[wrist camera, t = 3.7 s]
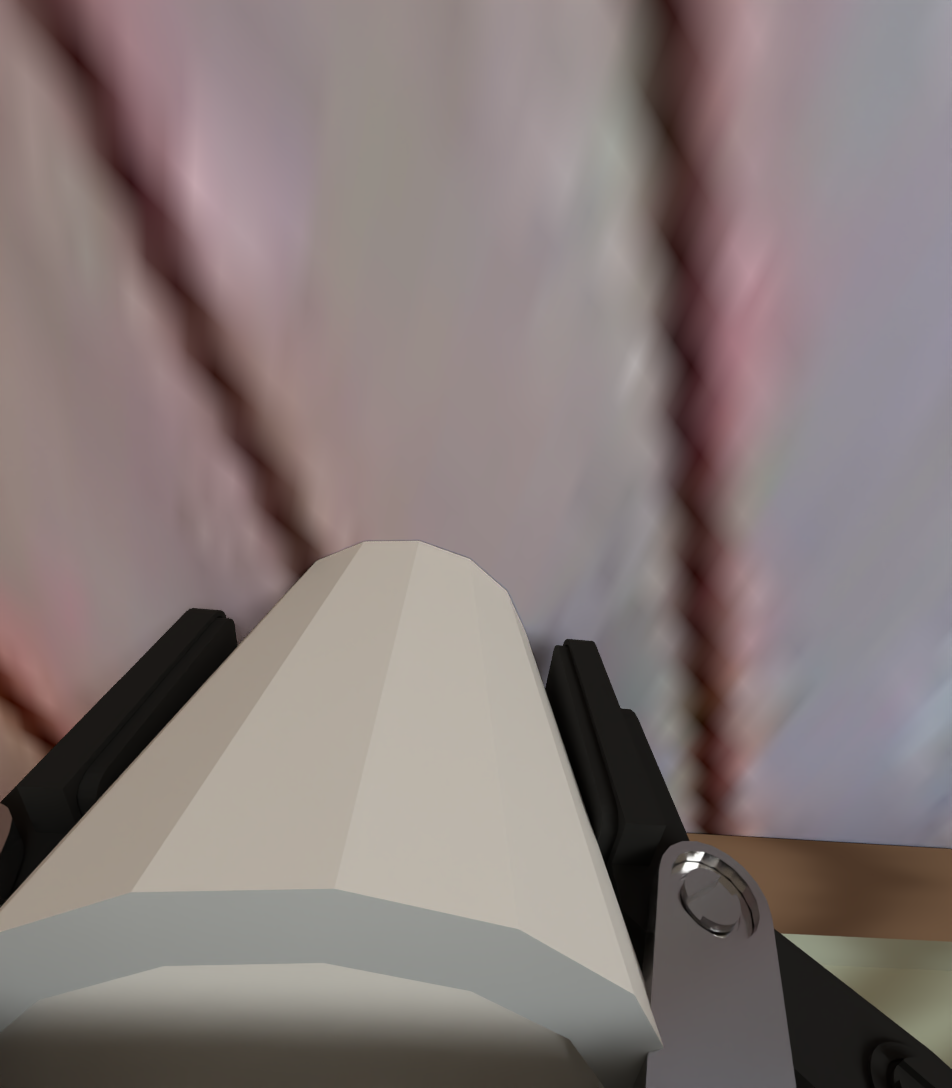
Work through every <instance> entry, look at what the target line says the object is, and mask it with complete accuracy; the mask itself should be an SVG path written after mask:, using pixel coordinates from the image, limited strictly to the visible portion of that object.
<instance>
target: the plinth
mask: <svg viewBox="0 0 952 1088" xmlns="http://www.w3.org/2000/svg"><path fill="white" fill-rule="evenodd" d="M687 836H688V838H689V840H690V841H697V842H701V843H704V844H708V845H711V846H714V847H715V848H717V849H719V850H721V851H723V852H725V853H726V854H728V855H729V856H731V857H732V858H733V859H734V860H736V861H737V862H738V863H739V864H740V865H742V866H743V867H744V868H745V869H746V870H747V872H748V873H749V874H750V875H751V876H752V878H753V879H754V880H755V881H756V882H757V884H758V885H759V887H760V889H761V891H762V892H763V894H764V896H765V898H766V899H767V902H768V905H769V909H770V912H771V916H772V920H773V927H774V929H776V930H777V931H778V932H779V933H781V934H782V935H783V936H785V937H786V938H787V939H788V940H790V941H791V942H792V943H794V944H795V945H796V946H797V947H799V948H800V949H801V950H803V951H804V952H805V953H806V954H808V955H809V956H810V957H812V958H813V959H814V960H815V961H817V962H818V963H819V964H821V965H822V966H823V967H824V968H826V969H827V970H828V971H830V972H831V973H832V974H833V975H835V976H836V977H837V978H839V979H840V980H841V981H842V982H844V983H845V984H846V985H848V986H849V987H850V988H851V989H853V990H854V991H855V992H857V993H858V994H859V995H860V996H862V997H863V998H864V999H866V1000H867V1001H868V1002H869V1003H871V1004H872V1005H873V1006H875V1007H876V1008H877V1009H878V1010H880V1011H881V1012H882V1013H884V1014H885V1015H886V1016H887V1017H889V1018H890V1019H891V1020H893V1021H894V1022H895V1023H896V1024H898V1025H899V1026H900V1027H902V1028H903V1029H904V1030H905V1031H907V1032H908V1033H909V1034H911V1035H912V1036H913V1037H914V1038H916V1039H917V1040H918V1041H920V1042H921V1043H922V1044H923V1045H925V1046H926V1047H927V1048H929V1049H930V1050H931V1051H932V1052H933V1053H935V1054H936V1055H937V1056H938V1057H939V1058H940V1059H941V1060H942V1061H943V1062H944V1063H946V1064H947V1065H948V1066H949V1067H950V1068H951V1069H952V849H941V848H925V847H908V846H891V845H875V844H858V843H841V842H824V841H808V840H791V839H774V838H758V837H741V836H724V835H707V834H691V833H687Z"/></svg>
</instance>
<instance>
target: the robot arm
mask: <svg viewBox="0 0 952 1088" xmlns="http://www.w3.org/2000/svg"><path fill="white" fill-rule="evenodd" d="M236 648H237V640H236V632H235V624H234V621H233V620H232V619H229V618H226V615H225V613H224V612H223V611H221V610H209V609H197V608H192V609H189V610H188V611H186V612H185V613H184V614H183V615H182V616H181V617H180V619H179V620H178V621H177V622H176V623H175V624H174V625H173V626H172V627H171V628H170V629H169V630H168V631H167V632H166V633H165V634H164V635H163V636H162V637H161V638H160V639H159V640H158V641H157V642H156V643H155V644H154V645H153V646H152V647H151V648H150V649H149V650H148V651H147V652H146V653H145V655H144V656H143V657H142V658H141V659H140V660H139V661H138V662H137V663H136V664H135V665H134V666H133V667H132V668H131V669H130V670H129V671H128V672H127V673H126V674H125V675H124V676H123V677H122V678H121V679H120V680H119V681H118V682H117V683H116V684H115V685H114V686H113V687H112V688H111V689H110V690H109V691H108V692H107V693H106V694H105V695H104V696H103V697H102V698H101V699H100V700H99V701H98V702H97V703H96V705H95V706H94V707H93V708H92V709H91V710H90V711H89V712H88V713H87V714H86V715H85V716H84V717H83V718H82V719H81V720H80V721H79V722H78V723H77V724H76V725H75V726H74V727H73V728H72V729H71V730H70V731H69V732H68V733H67V734H66V735H65V736H64V737H63V738H62V739H61V740H60V742H59V743H58V744H57V745H56V746H55V747H54V748H53V749H52V750H51V751H50V752H49V753H48V754H47V755H46V756H45V757H44V758H43V759H42V760H41V761H40V762H39V763H38V764H37V765H36V766H35V767H34V768H33V769H32V770H31V771H30V772H29V773H28V774H27V775H26V776H25V777H24V779H23V780H22V781H21V782H20V783H19V784H18V785H17V786H16V787H15V788H14V789H13V790H12V791H11V792H10V793H9V794H8V795H7V796H6V797H5V798H4V799H3V800H2V801H1V802H0V907H1V906H2V905H3V904H4V903H5V902H6V901H7V900H8V899H9V897H10V896H11V895H12V894H13V893H14V892H15V891H16V890H17V889H18V888H19V886H20V885H21V884H22V883H23V882H24V881H25V880H26V879H27V878H28V877H29V875H30V874H31V873H32V872H33V871H34V870H35V869H36V868H37V867H38V866H39V864H40V863H41V862H42V861H43V860H44V859H45V858H46V857H47V856H48V855H49V853H50V852H51V851H52V850H53V849H54V848H55V847H56V846H57V845H58V844H59V842H60V841H61V840H62V839H63V838H64V837H65V836H66V835H67V834H68V833H69V831H70V830H71V829H72V828H73V827H74V826H75V825H76V824H77V823H78V822H79V820H80V819H81V818H82V817H83V816H84V815H85V814H86V813H87V812H88V811H89V809H90V808H91V807H92V806H93V805H94V804H95V803H96V802H97V801H98V800H99V798H100V797H101V796H102V795H103V794H104V793H105V792H106V791H107V790H108V789H109V787H110V786H111V785H112V784H113V783H114V782H115V781H116V780H117V779H118V778H119V776H120V775H121V774H122V773H123V772H124V771H125V770H126V769H127V768H128V767H129V765H130V764H131V763H132V762H133V761H134V760H135V759H136V758H137V757H138V756H139V754H140V753H141V752H142V751H143V750H144V749H145V748H146V747H147V746H148V745H149V743H150V742H151V741H152V740H153V739H154V738H155V737H156V736H157V735H158V734H159V732H160V731H161V730H162V729H163V728H164V727H165V726H166V725H167V724H168V723H169V721H170V720H171V719H172V718H173V717H174V716H175V715H176V714H177V713H178V712H179V710H180V709H181V708H182V707H183V706H184V705H185V704H186V703H187V702H188V701H189V699H190V698H191V697H192V696H193V695H194V694H195V693H196V692H197V691H198V690H199V688H200V687H201V686H202V685H203V684H204V683H205V682H206V681H207V680H208V679H209V677H210V676H211V675H212V674H213V673H214V672H215V671H216V670H217V669H218V668H219V666H220V665H221V664H222V663H223V662H224V661H225V660H226V659H227V658H228V657H229V655H230V654H231V653H232V652H233V651H234V650H235V649H236ZM545 691H546V694H547V697H548V700H549V702H550V705H551V708H552V711H553V714H554V717H555V720H556V723H557V726H558V729H559V732H560V735H561V738H562V741H563V743H564V746H565V749H566V752H567V755H568V758H569V761H570V764H571V767H572V770H573V773H574V776H575V779H576V782H577V784H578V787H579V790H580V793H581V796H582V799H583V802H584V805H585V808H586V811H587V814H588V817H589V820H590V823H591V825H592V828H593V831H594V834H595V837H596V840H597V843H598V846H599V849H600V852H601V855H602V858H603V861H604V864H605V866H606V869H607V872H608V875H609V878H610V881H611V884H612V887H613V890H614V893H615V896H616V899H617V902H618V905H619V907H620V910H621V913H622V916H623V919H624V922H625V925H626V928H627V931H628V934H629V937H630V940H631V943H632V946H633V948H634V951H635V954H636V957H637V960H638V963H639V966H640V969H641V972H642V975H643V978H644V981H645V984H646V989H647V994H648V998H649V1003H650V1008H651V1011H652V1014H653V1017H654V1020H655V1023H656V1026H657V1029H658V1032H659V1035H660V1038H661V1040H662V1043H663V1046H664V1048H661V1049H658V1050H654V1051H650V1052H648V1053H647V1055H646V1058H645V1060H644V1062H643V1064H642V1067H641V1069H640V1071H639V1074H638V1076H637V1078H636V1081H635V1082H634V1084H633V1088H952V1069H951V1068H950V1067H949V1066H948V1065H947V1064H946V1063H944V1062H943V1061H942V1060H941V1059H940V1058H939V1057H938V1056H937V1055H936V1054H935V1053H933V1052H932V1051H931V1050H930V1049H929V1048H927V1047H926V1046H925V1045H923V1044H922V1043H921V1042H920V1041H918V1040H917V1039H916V1038H914V1037H913V1036H912V1035H911V1034H909V1033H908V1032H907V1031H905V1030H904V1029H903V1028H902V1027H900V1026H899V1025H898V1024H896V1023H895V1022H894V1021H893V1020H891V1019H890V1018H889V1017H887V1016H886V1015H885V1014H884V1013H882V1012H881V1011H880V1010H878V1009H877V1008H876V1007H875V1006H873V1005H872V1004H871V1003H869V1002H868V1001H867V1000H866V999H864V998H863V997H862V996H860V995H859V994H858V993H857V992H855V991H854V990H853V989H851V988H850V987H849V986H848V985H846V984H845V983H844V982H842V981H841V980H840V979H839V978H837V977H836V976H835V975H833V974H832V973H831V972H830V971H828V970H827V969H826V968H824V967H823V966H822V965H821V964H819V963H818V962H817V961H815V960H814V959H813V958H812V957H810V956H809V955H808V954H806V953H805V952H804V951H803V950H801V949H800V948H799V947H797V946H796V945H795V944H794V943H792V942H791V941H790V940H788V939H787V938H786V937H785V936H783V935H782V934H781V933H779V932H778V931H777V930H776V929H774V927H773V920H772V916H771V912H770V909H769V905H768V902H767V899H766V898H765V896H764V894H763V892H762V891H761V889H760V887H759V885H758V884H757V882H756V881H755V880H754V879H753V878H752V876H751V875H750V874H749V873H748V872H747V870H746V869H745V868H744V867H743V866H742V865H740V864H739V863H738V862H737V861H736V860H734V859H733V858H732V857H731V856H729V855H728V854H726V853H725V852H723V851H721V850H719V849H717V848H715V847H714V846H711V845H708V844H704V843H701V842H697V841H690V840H689V838H688V836H687V833H686V831H685V829H684V826H683V824H682V822H681V819H680V817H679V814H678V812H677V810H676V807H675V805H674V803H673V800H672V798H671V796H670V793H669V791H668V788H667V786H666V784H665V781H664V779H663V777H662V774H661V772H660V770H659V767H658V765H657V763H656V760H655V758H654V755H653V753H652V751H651V748H650V746H649V744H648V741H647V739H646V737H645V734H644V732H643V729H642V727H641V725H640V722H639V720H638V718H637V716H636V714H635V713H634V712H633V711H632V710H631V709H621V708H620V706H619V703H618V701H617V698H616V696H615V693H614V690H613V688H612V685H611V683H610V680H609V678H608V675H607V672H606V670H605V667H604V665H603V662H602V660H601V657H600V655H599V652H598V649H597V647H596V645H595V643H594V642H593V641H585V640H573V639H566V640H565V642H564V644H563V646H560V645H556V646H555V648H554V651H553V656H552V660H551V665H550V670H549V674H548V679H547V683H546V688H545Z"/></svg>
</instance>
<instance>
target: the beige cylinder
mask: <svg viewBox="0 0 952 1088" xmlns="http://www.w3.org/2000/svg"><path fill="white" fill-rule="evenodd" d="M661 1048H664V1046H663V1043H662V1040H661V1038H660V1035H659V1032H658V1029H657V1026H656V1023H655V1020H654V1017H653V1014H652V1011H651V1008H650V1003H649V998H648V994H647V989H646V984H645V981H644V978H643V975H642V972H641V969H640V966H639V963H638V960H637V957H636V954H635V951H634V948H633V946H632V943H631V940H630V937H629V934H628V931H627V928H626V925H625V922H624V919H623V916H622V913H621V910H620V907H619V905H618V902H617V899H616V896H615V893H614V890H613V887H612V884H611V881H610V878H609V875H608V872H607V869H606V866H605V864H604V861H603V858H602V855H601V852H600V849H599V846H598V843H597V840H596V837H595V834H594V831H593V828H592V825H591V823H590V820H589V817H588V814H587V811H586V808H585V805H584V802H583V799H582V796H581V793H580V790H579V787H578V784H577V782H576V779H575V776H574V773H573V770H572V767H571V764H570V761H569V758H568V755H567V752H566V749H565V746H564V743H563V741H562V738H561V735H560V732H559V729H558V726H557V723H556V720H555V717H554V714H553V711H552V708H551V705H550V702H549V700H548V697H547V694H546V691H545V688H544V685H543V682H542V679H541V676H540V673H539V670H538V667H537V664H536V661H535V659H534V656H533V653H532V650H531V647H530V644H529V641H528V638H527V635H526V632H525V630H524V628H523V625H522V623H521V621H520V619H519V617H518V614H517V612H516V610H515V608H514V606H513V603H512V601H511V599H510V597H509V595H508V593H507V591H506V590H505V589H504V588H503V587H501V586H500V585H499V584H498V583H497V582H496V581H495V580H493V579H492V578H491V577H490V576H489V575H488V574H486V573H485V572H484V571H483V570H482V569H481V568H480V567H478V566H477V565H476V564H475V563H474V562H473V561H472V560H470V559H468V558H466V557H463V556H460V555H457V554H454V553H452V552H449V551H446V550H443V549H440V548H438V547H435V546H432V545H429V544H426V543H423V542H421V541H370V542H362V543H360V544H357V545H355V546H352V547H350V548H347V549H345V550H342V551H340V552H337V553H335V554H332V555H330V556H327V557H325V558H323V559H320V560H318V561H316V562H315V563H314V564H313V565H312V566H311V567H310V568H309V570H308V571H307V572H306V573H305V574H304V575H303V576H302V577H301V578H300V579H299V580H298V581H297V582H296V583H295V584H294V585H293V586H292V587H291V589H290V590H289V591H288V592H287V593H286V594H285V595H284V596H283V597H282V598H281V599H280V600H279V602H278V603H277V604H276V605H275V606H274V607H273V608H272V609H271V610H270V611H269V613H268V614H267V615H266V616H265V617H264V618H263V619H262V620H261V621H260V622H259V624H258V625H257V626H256V627H255V628H254V629H253V630H252V631H251V632H250V633H249V635H248V636H247V637H246V638H245V639H244V640H243V641H242V642H241V643H240V644H239V646H238V647H237V648H236V649H235V650H234V651H233V652H232V653H231V654H230V655H229V657H228V658H227V659H226V660H225V661H224V662H223V663H222V664H221V665H220V666H219V668H218V669H217V670H216V671H215V672H214V673H213V674H212V675H211V676H210V677H209V679H208V680H207V681H206V682H205V683H204V684H203V685H202V686H201V687H200V688H199V690H198V691H197V692H196V693H195V694H194V695H193V696H192V697H191V698H190V699H189V701H188V702H187V703H186V704H185V705H184V706H183V707H182V708H181V709H180V710H179V712H178V713H177V714H176V715H175V716H174V717H173V718H172V719H171V720H170V721H169V723H168V724H167V725H166V726H165V727H164V728H163V729H162V730H161V731H160V732H159V734H158V735H157V736H156V737H155V738H154V739H153V740H152V741H151V742H150V743H149V745H148V746H147V747H146V748H145V749H144V750H143V751H142V752H141V753H140V754H139V756H138V757H137V758H136V759H135V760H134V761H133V762H132V763H131V764H130V765H129V767H128V768H127V769H126V770H125V771H124V772H123V773H122V774H121V775H120V776H119V778H118V779H117V780H116V781H115V782H114V783H113V784H112V785H111V786H110V787H109V789H108V790H107V791H106V792H105V793H104V794H103V795H102V796H101V797H100V798H99V800H98V801H97V802H96V803H95V804H94V805H93V806H92V807H91V808H90V809H89V811H88V812H87V813H86V814H85V815H84V816H83V817H82V818H81V819H80V820H79V822H78V823H77V824H76V825H75V826H74V827H73V828H72V829H71V830H70V831H69V833H68V834H67V835H66V836H65V837H64V838H63V839H62V840H61V841H60V842H59V844H58V845H57V846H56V847H55V848H54V849H53V850H52V851H51V852H50V853H49V855H48V856H47V857H46V858H45V859H44V860H43V861H42V862H41V863H40V864H39V866H38V867H37V868H36V869H35V870H34V871H33V872H32V873H31V874H30V875H29V877H28V878H27V879H26V880H25V881H24V882H23V883H22V884H21V885H20V886H19V888H18V889H17V890H16V891H15V892H14V893H13V894H12V895H11V896H10V897H9V899H8V900H7V901H6V902H5V903H4V904H3V905H2V906H1V907H0V1088H633V1084H634V1082H635V1081H636V1078H637V1076H638V1074H639V1071H640V1069H641V1067H642V1064H643V1062H644V1060H645V1058H646V1055H647V1053H648V1052H650V1051H654V1050H658V1049H661Z"/></svg>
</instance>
